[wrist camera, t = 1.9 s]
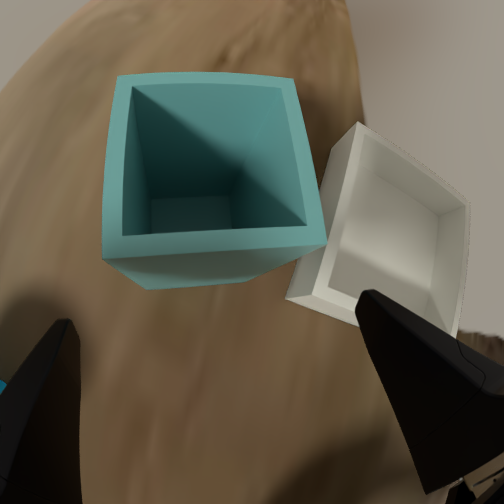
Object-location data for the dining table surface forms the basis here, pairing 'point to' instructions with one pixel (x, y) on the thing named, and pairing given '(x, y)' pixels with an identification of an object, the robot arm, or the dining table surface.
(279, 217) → the teal crate
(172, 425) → the dining table surface
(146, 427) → the dining table surface
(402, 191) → the white crate
